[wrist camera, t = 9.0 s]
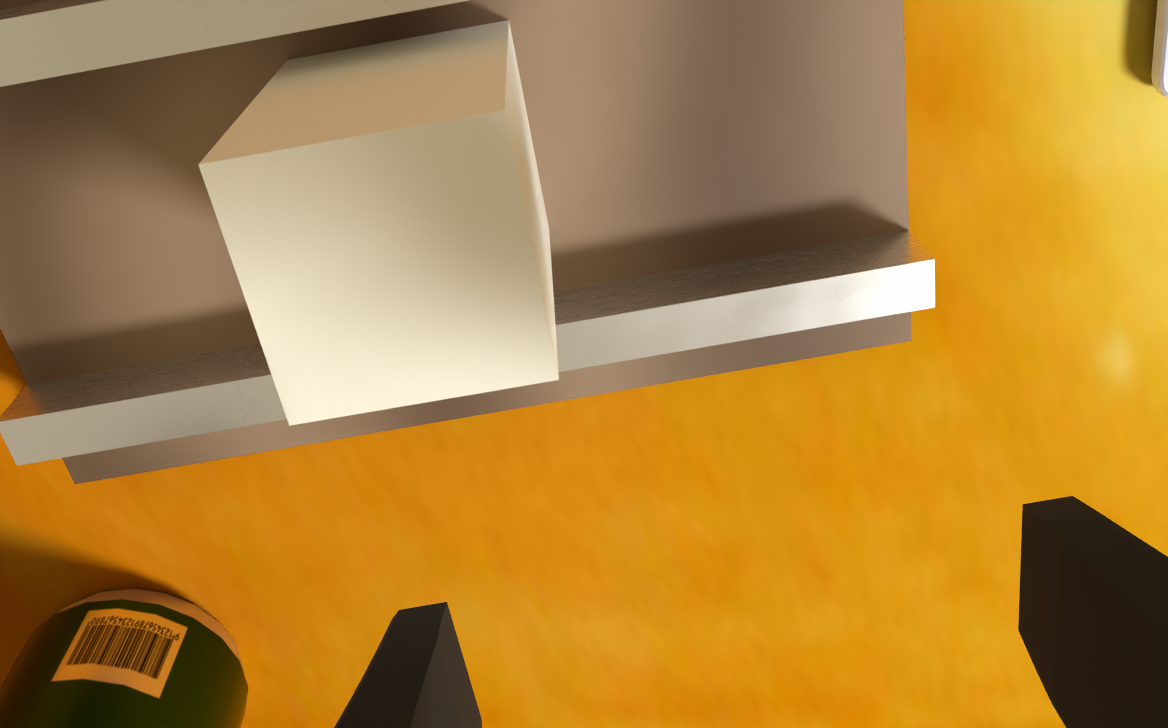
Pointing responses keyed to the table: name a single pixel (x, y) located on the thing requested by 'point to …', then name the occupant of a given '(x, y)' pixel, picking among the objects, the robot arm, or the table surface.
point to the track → (568, 182)
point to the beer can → (126, 667)
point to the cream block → (390, 225)
